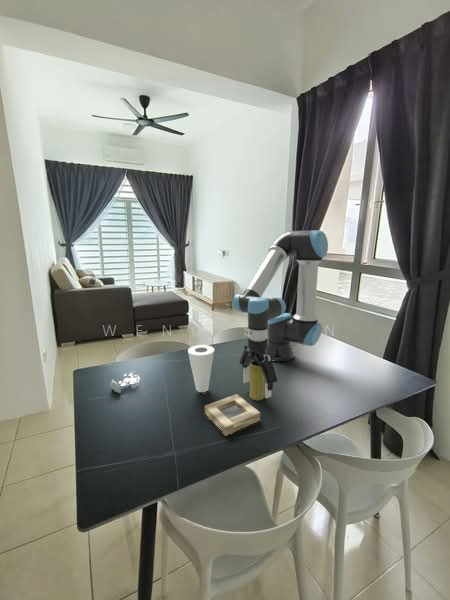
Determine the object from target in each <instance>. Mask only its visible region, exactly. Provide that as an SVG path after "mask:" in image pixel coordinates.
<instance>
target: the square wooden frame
mask: <svg viewBox="0 0 450 600" xmlns="http://www.w3.org/2000/svg"><path fill="white" fill-rule="evenodd" d="M205 414H206V415H207V416H208V417H209V418H208V417H207V416H206V415H205ZM204 415H205V416H206V417H207V418H208V420H211V421H212V422H213V423H214V424H215V425H216V426H217V427H218V428H219V429H220V430H221V431H222V432H221V431H220V430H219V429H218V428H217V427H216V426H215V425H214V424H213V423H212V422H211V421H210V422H211V423H212V424H213V425H214V426H215V427H216V428H217V429H218V430H219V431H220V432H221V434H223V435H224V436H225V437H226V436H227V435H229V434H231V435H233V434H235V433H234V432H236V431H238V430H240V429H242V428H244V429H246V428H245V427H247V426H249V425H251V424H253V423H256V422H258V421H260V422H261V412H260V411H259V410H258V409H257V408H255V407H254V406H253V405H251V403H249V402H247V401H246V400H245V399H244V398H242V397H241V396H240V395H239V394H237V393H236V394H234V395H231V396H228V397H225V398H223V399H220V400H217V401H213V402H211V403H209V404H206V405H204ZM258 423H259V422H258ZM256 424H257V423H256ZM253 425H254V424H253ZM251 426H252V425H251ZM249 427H250V426H249ZM247 428H248V427H247ZM242 430H243V429H242ZM240 431H241V430H240ZM238 432H239V431H238ZM232 433H233V434H232ZM236 433H237V432H236ZM229 436H230V435H229ZM227 437H228V436H227Z"/></svg>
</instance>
